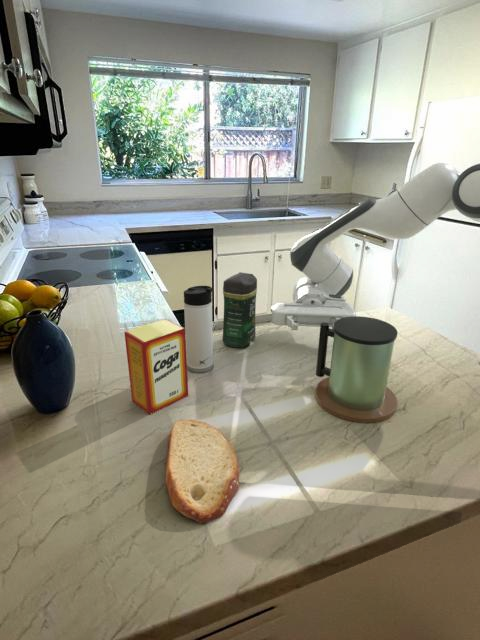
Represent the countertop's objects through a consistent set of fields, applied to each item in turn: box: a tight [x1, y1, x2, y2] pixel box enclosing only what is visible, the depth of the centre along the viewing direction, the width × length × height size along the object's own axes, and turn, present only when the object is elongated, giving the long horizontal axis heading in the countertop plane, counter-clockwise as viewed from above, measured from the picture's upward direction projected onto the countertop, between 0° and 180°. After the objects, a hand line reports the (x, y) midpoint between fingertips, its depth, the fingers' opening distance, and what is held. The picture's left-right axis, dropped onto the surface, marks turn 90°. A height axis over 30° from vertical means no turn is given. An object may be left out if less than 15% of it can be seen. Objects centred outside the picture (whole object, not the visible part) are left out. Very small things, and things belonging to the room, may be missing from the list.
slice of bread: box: [165, 419, 240, 524], centre depth 65 cm, size 18×18×4 cm
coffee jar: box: [222, 271, 258, 349], centre depth 106 cm, size 10×8×19 cm
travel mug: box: [183, 285, 214, 374], centre depth 92 cm, size 6×7×20 cm
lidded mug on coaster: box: [314, 315, 398, 424], centre depth 79 cm, size 16×18×16 cm
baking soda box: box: [123, 318, 189, 415], centre depth 81 cm, size 10×6×16 cm
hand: (315, 328), depth 92 cm, fingers open, 8 cm apart
